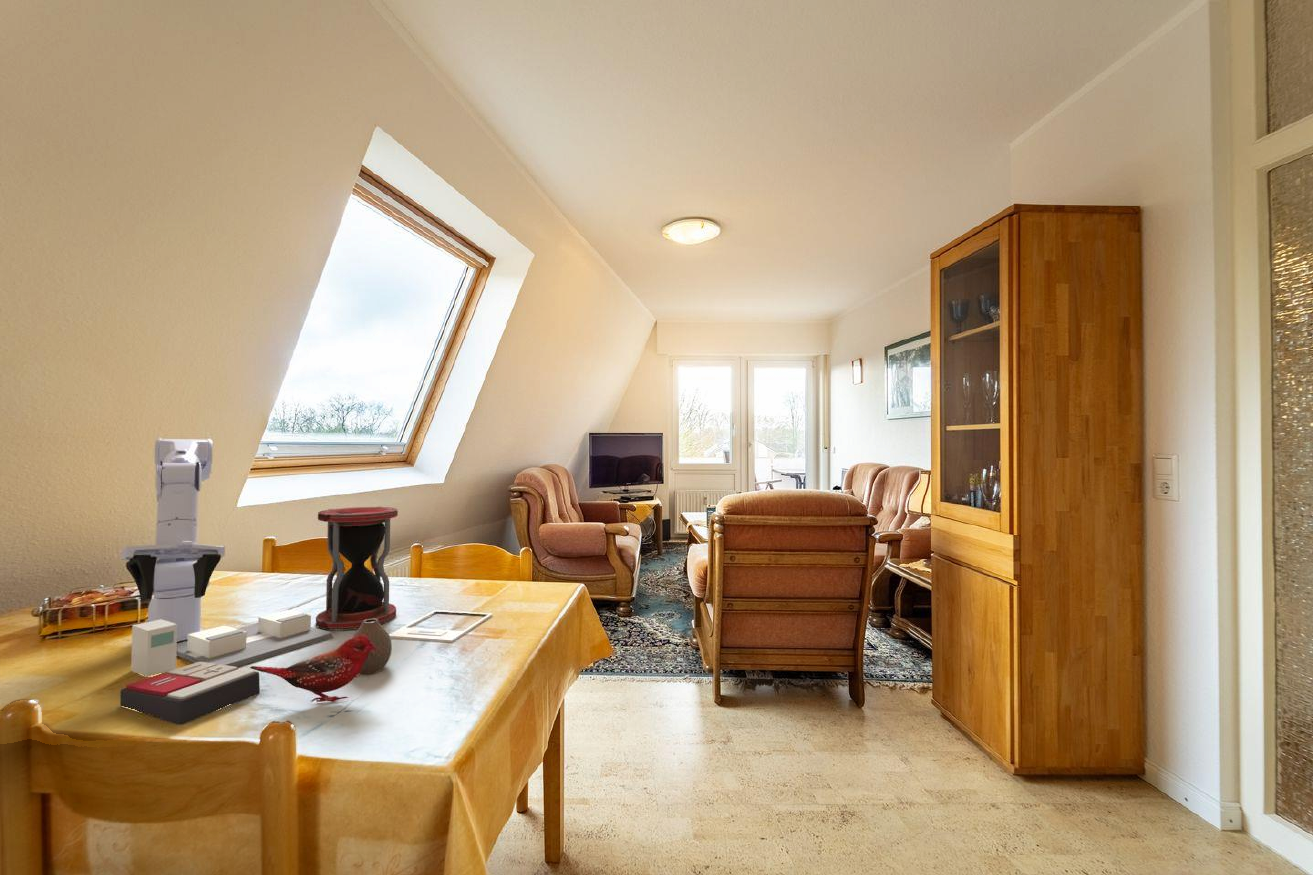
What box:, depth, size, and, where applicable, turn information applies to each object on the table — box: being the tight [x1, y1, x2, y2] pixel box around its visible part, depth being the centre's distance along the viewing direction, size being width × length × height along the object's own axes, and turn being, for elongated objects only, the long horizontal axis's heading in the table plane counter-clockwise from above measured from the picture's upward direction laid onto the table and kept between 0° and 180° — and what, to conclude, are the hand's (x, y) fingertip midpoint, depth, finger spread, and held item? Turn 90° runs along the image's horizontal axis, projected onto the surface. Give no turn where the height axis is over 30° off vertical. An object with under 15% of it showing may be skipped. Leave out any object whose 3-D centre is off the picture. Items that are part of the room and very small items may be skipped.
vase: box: [351, 619, 392, 676], centre depth 96 cm, size 7×7×9 cm
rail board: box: [176, 609, 334, 667], centre depth 109 cm, size 20×20×4 cm
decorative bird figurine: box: [249, 635, 377, 703], centre depth 84 cm, size 3×18×10 cm, turn 102°
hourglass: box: [315, 506, 399, 631], centre depth 125 cm, size 16×16×25 cm
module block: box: [130, 619, 178, 677], centre depth 96 cm, size 6×4×8 cm, turn 63°
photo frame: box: [388, 609, 493, 643], centre depth 121 cm, size 15×1×18 cm
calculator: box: [119, 662, 261, 726], centre depth 85 cm, size 11×4×15 cm
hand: (173, 598), depth 97 cm, fingers open, 7 cm apart
